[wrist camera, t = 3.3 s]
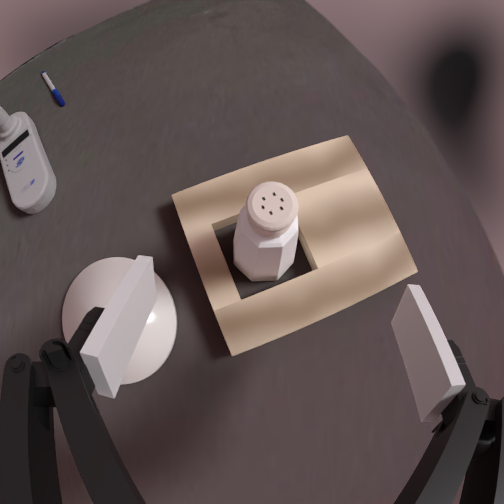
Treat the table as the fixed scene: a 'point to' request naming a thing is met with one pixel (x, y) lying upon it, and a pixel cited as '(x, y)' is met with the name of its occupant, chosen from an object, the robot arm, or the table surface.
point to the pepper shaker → (266, 232)
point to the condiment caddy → (309, 234)
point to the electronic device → (25, 163)
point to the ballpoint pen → (53, 89)
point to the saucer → (99, 294)
